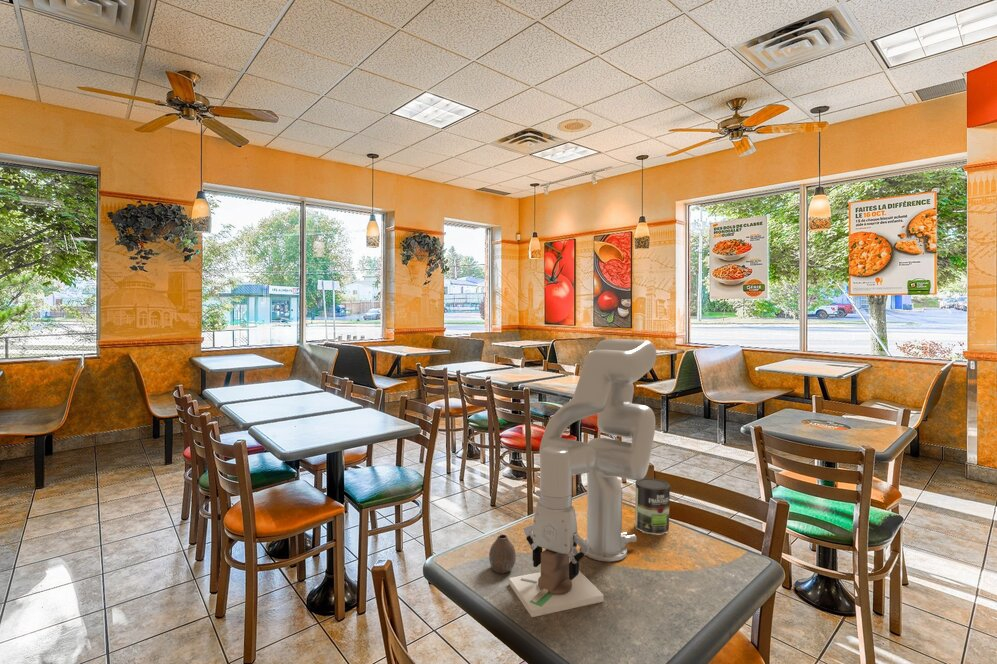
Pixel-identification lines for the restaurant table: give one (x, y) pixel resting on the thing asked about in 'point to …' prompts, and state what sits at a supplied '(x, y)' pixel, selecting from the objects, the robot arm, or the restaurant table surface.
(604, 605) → the restaurant table surface
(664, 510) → the coffee can
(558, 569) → the dial knob
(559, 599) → the dial board
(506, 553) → the vase
